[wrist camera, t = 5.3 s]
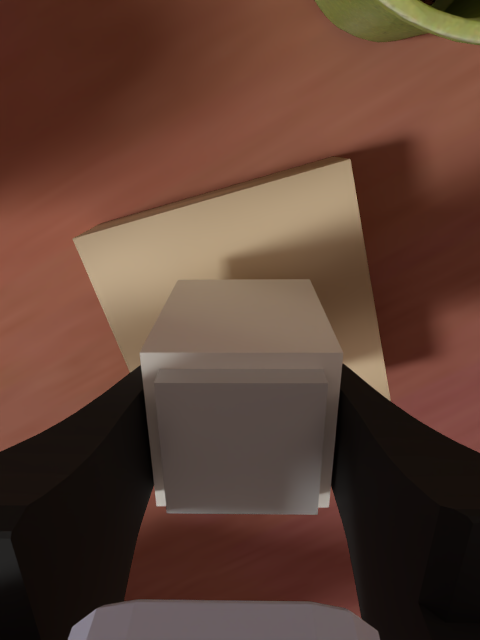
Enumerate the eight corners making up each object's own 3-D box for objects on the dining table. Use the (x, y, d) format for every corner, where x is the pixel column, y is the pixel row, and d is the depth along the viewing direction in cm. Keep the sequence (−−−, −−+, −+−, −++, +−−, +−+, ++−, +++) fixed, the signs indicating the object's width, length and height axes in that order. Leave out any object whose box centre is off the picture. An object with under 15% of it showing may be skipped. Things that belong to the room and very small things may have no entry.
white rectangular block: (303, 392, 16) (333, 527, 10) (185, 392, 16) (151, 525, 10) (309, 279, 14) (349, 366, 9) (177, 279, 14) (132, 365, 9)
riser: (372, 370, 20) (391, 406, 18) (176, 414, 22) (165, 454, 19) (333, 156, 17) (350, 159, 14) (99, 223, 18) (72, 238, 15)
